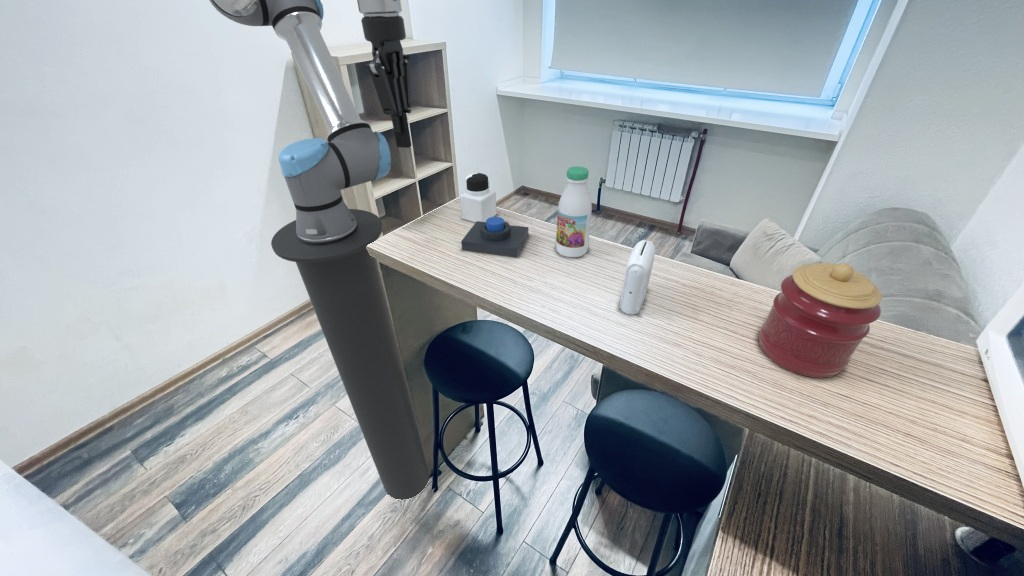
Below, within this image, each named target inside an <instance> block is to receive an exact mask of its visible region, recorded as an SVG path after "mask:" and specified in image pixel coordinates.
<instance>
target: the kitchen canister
mask: <svg viewBox="0 0 1024 576" xmlns="http://www.w3.org/2000/svg"><path fill="white" fill-rule="evenodd" d="M780 290H781V292H779V293H778V294H776V295H775V297H774V299H773V302H772V303H773V304H772V306H771V309H770V310H769V312H768V314H767V317H766V319H765V321H764V322H763V323H762V325H761V327H760V329H759V336H758V343H759V346H760V348H761V350H762V351H763V353H765V355H766V356H767V357H768V358H769V359H770V360H771V361H773V362H774V363H776V364H777V365H779V366H780V367H782V368H783V369H786V370H787V371H790V372H793V373H795V374H797V375H801V376H804V377H805V376H806V377H810V378H820V379H822V378H831V377H835V376H836V375H838V374H839V373H840V372H841V371H842V370H844V369H845V368H846V367H847V366H848V364H849V363H850V361H851V359H852V356H853V355H854V353H855V351H856V350H857V349H858V347H859V345H860V344H861V343H862V341H863V339H864V338H866V337H867V336H868V335H869V334H870V331H871V330H870V329H871V327H870V325H871V324H872V323H874V322H876V321H877V320H879V318H880V316H881V314H882V310H881V309H882V308H881V306H880V303H881V302H882V300H883V294H882V292H881V290H880V289H879V287H877V285H876V284H875V283H874V282H872V280H871V279H870V278H869V277H868V276H866V275H865V274H863V273H862V272H860V271H857V270H855V269H854V267H853V266H852V265H851V264H849V263H846V262H841V263H830V262H817V263H808V264H803V265H799V266H797V267H796V268H795V269H794V270H793V272H792V274H791V275H788V276H786V277H784V279H783V280H782V281H781V283H780Z"/></svg>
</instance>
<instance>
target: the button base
mask: <svg viewBox="0 0 1024 576" xmlns="http://www.w3.org/2000/svg"><path fill="white" fill-rule="evenodd" d="M528 237H529V227H528V226H522V225H521V226H520V225H513V224H510V223H509V222H508V221H506V220H504V230H501V231H497V232H492V231H488V230H487V229H486V222H480V221H477V222H474V224H473V225H472V226H471V228H470V229H469V230H468V232H466V234H465V235H464V237H463V238H462V240H461V250H462V251H465V252H466V251H468V252H473V253H482V254H488V255H495V256H496V255H497V256H504V257H510V258H518V256H519V254H520V253H521V251H522V249H523V247H524V245H525V244H526V241H527V239H528Z"/></svg>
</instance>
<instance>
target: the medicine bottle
mask: <svg viewBox="0 0 1024 576" xmlns="http://www.w3.org/2000/svg"><path fill="white" fill-rule="evenodd" d="M464 181H465V189H466V191H465V192H463V193H461V194H460V195H459V200H460V201H459V202H460V209H461V218H462V220H465V221H469V222H472V223H476V222H477V221H480V222H486V220H487V219H488V218H490V217H496V216H497V213H498V212H497V195H496V193H497V192H496V190H492V189H490V188H489V187H490V185H489V176H488V175H487V174H485V173H482V172H473V173H470V174H467V176H466V177H465V180H464Z"/></svg>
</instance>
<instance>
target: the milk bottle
mask: <svg viewBox="0 0 1024 576" xmlns="http://www.w3.org/2000/svg"><path fill="white" fill-rule="evenodd" d="M588 180H589V169H588V168H586V167H584V166H570V167H569V168H567V170H566V181H567V182H566V186H565V187H564V190H563V192H562V194H561V196H560V198H559V201H558V206H557V215H556V216H557V219H556V233H555V249H556V252H557V253H558V254H559V255H561V256H564V257H566V258H580V257H582V256H585V255H586V253H587V252H588V251H589V245H590V244H589V242H590V232H591V222H592V211H593V205H592V199H591V195H590V193H589V189H588V185H587V182H588Z"/></svg>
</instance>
